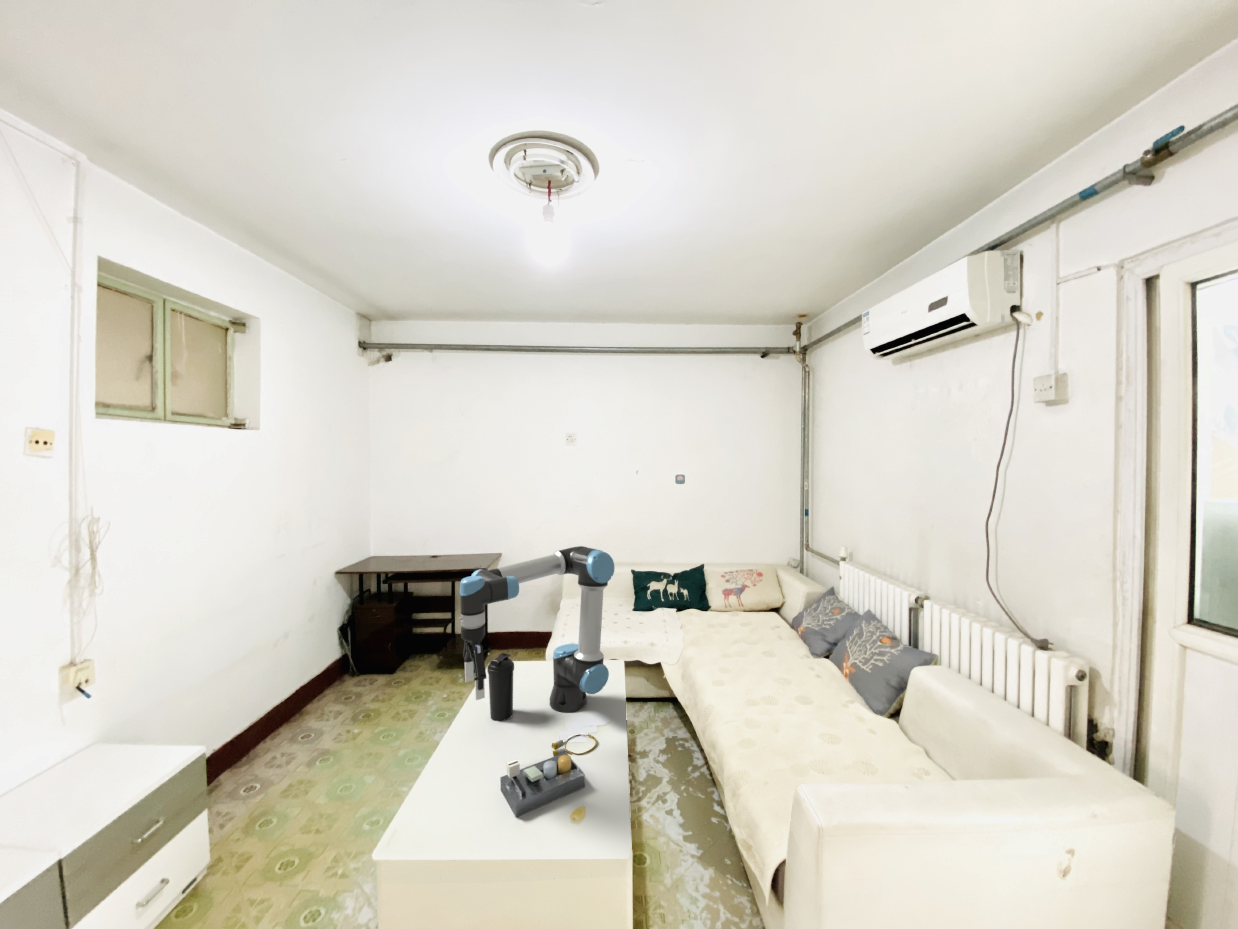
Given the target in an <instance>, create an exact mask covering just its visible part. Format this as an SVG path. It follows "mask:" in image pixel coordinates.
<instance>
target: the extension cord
mask: <svg viewBox="0 0 1238 929" xmlns="http://www.w3.org/2000/svg"><path fill="white" fill-rule="evenodd" d="M587 734H588V733H587ZM587 736H589V737H588V738H591V739H593V741H594V742H595V744H594V746H593V747H591V748H590V749H588V750H586V751H585V752H579V753H578V752H577V753H576V752H574V751H570V750H568V749H567V747H566V746H567V743H566V742H565V743H564V742H563V740H564V739H561V740H560V739H559V740H557V741H556V742H552V743H551V748H552V749H554V750H552V755H553V757H554V756H557V755H560V754H562V753H565V752H566V753H567V754H568V755H571V756H573V755H576V756H583V755H585V754H589V753H591V752H592V751H594V749H595V748H596V746H597V744H598V741H597V738H596V737H594V736H593V735H592V734H590V733H589V734H588V735H587ZM563 744H564V748H560V747H561V746H562V745H563Z"/></svg>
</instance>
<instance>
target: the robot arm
mask: <svg viewBox="0 0 1238 929" xmlns="http://www.w3.org/2000/svg"><path fill="white" fill-rule="evenodd" d="M614 572H615V561H614V559H613V557H612V556H611V555H610V554H609V553H607V552H605V551H603V550H601V549H597V548H592V547H587V546H583V545H581V546H580V545H579V546H573V547H570V548H569V547H567V548H565V549H564V548H563V549H560V550H556V551H554V552H553V553H552V554H550V555H546V556H542V557H538V558H533V559H529V560H525V561H521V562H517V563H513V564H509V565H505V566H500V567H496V568H491V569H488V570H487V569H482V568H480V569H477V570H474V571H473V573H471V576H466V577H463V578H461V580H460V585H459V597H460V598H459V599H460V617H458V620H459V621H460V626H461V627H460V631H461V632H460V636H461V639H462V641H464V644H463V649H462V650H463V653H462V657H463V661H464V682H465V683H470V682H473V681H474V691H475V694H474V695H475V696H474V697H475V698H474V699H475V701H478V700H481V699H485V698H486V697H485V679H487V672H486V664H485V657H484V649H483V648H484V646H483V645H482V643H481V642H480V640H481V639H483V638H485V636H486V625H485V623H486V607H485V606H486V605H489V604H493V603H498V602H503V601H507V600H508V601H509V600H511V599H514V598H517V597H518V595H519V592H520V584H523V583H526V582H530V581H534V580H538V579H541V578H544V577H545V578H546V577H549V576H552V575H556V574H557V575H558V576H562V575H567V574H569V575H570V574H571V575H575V576H577V584H578V586H579V587H580V589H581V592H580V593H581V594H580V596H581V597H580V606H579V607H580V610H579V612H580V613H579V626H578V627H579V628H578V641H577V642H578V643H568V644H562V645H559V646H557V647H556V648H554V650H553V656H552V660H553V662H552V663H553V686H552V689H551V692H550V697H549V707H550V708H552V710H554V711H556V712H561V713H570V712H577V711H578V710H581V709H583V708H585V706H586V705H587V702H588V701H587V699H588V698H587V695H595V694H597V693H600V692H601V691H602V690H603V688H604V687H605V686H606V685H607V683H608V680H609V676H610V672H609V668H608V667H607V666H606V665H605V664H604V660H605V658H604V653H603V652H602V651H601V640H602V620H603V605H604V604H603V603H604V589H606V588H607V586H608V585H609V584H608V583H609V581H611V579H612V577H613V575H614V574H615V573H614ZM474 674H475V677H474Z"/></svg>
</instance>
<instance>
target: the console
mask: <svg viewBox="0 0 1238 929" xmlns="http://www.w3.org/2000/svg"><path fill="white" fill-rule="evenodd" d="M562 755H569V753H567V752H565V753H562V754H560V755H556V756H554V755H553V756H551V757H549V758H547V759H543V760H542V761H539V762H537V763H534V764H532V765H529V766H526V767H524V768H521V769H520V774H519V775H516V776H514V777H511V778H509V776H508V775H507V774H505V775H502V776H500V778H499V779H500V791H501V794H502V795H503V797H504V799H505V800H506V803H507V804H508V806H509V808H510V810H511V811H512V813H513V815H514V817H515V818H518V817H521V816H522V815H525V814H527V813H529V812H532V811H534V810H536V809H539V808H541V807H543V806H546V805H547V804H549V803H552V802H555V801H557V800H558V799H559V800H560V799H561V798H563V797H566V796H569V795H570V794H572V793H574V792H577V791H580V790H582V789H584V788H585V785H586V782H585V781H586V779H585V773H584V771H582V769H581V768H580V767H579V766H578V765H577V764H576V762H575V761H574V760H573V758H571V771H569V772H567V773H565V774H562V775H559V772H558V759H559V757H560V756H562ZM547 761H555V762H556V763H557V777H555V778H552V779H550V780H548V781H546V780H545V778H544V767H543V765H544V763H545V762H547ZM533 766H535V767H536V768H537V769H538V770H540V771H541V772H542V773H543V778H541V779H538V780H536V781H533V782H532V781H531V780H530V779H529V778H528V777H527V776H526V775H524V772H523V770H525V769H528V768H530V767H533Z"/></svg>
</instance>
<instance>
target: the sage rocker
mask: <svg viewBox="0 0 1238 929" xmlns="http://www.w3.org/2000/svg"><path fill="white" fill-rule="evenodd" d="M523 772H524V775H526V776H527V777H528V778H529V779H530V780H531V781H532V782H533V781H536V780H538V779H541V778H543V773H542V772H541V771H540V770H538V769H537V768H536V767H535V766H533V767H530V768H528V769H525V770H523Z"/></svg>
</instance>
